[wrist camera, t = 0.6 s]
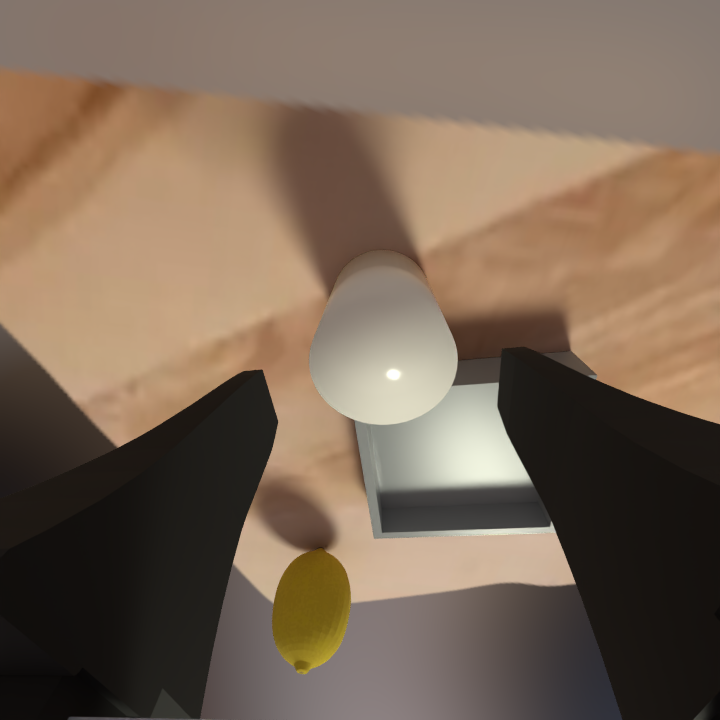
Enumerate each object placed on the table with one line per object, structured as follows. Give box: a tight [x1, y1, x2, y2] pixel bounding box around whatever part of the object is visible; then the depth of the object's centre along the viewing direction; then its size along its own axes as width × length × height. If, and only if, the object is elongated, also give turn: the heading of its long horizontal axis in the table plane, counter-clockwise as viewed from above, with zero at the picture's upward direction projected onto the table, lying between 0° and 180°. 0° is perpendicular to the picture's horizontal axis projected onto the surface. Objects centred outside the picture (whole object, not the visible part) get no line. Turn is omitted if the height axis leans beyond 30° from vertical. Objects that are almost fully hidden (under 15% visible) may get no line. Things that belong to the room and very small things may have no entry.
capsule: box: [309, 250, 458, 425], centre depth 15 cm, size 5×5×7 cm
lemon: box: [272, 548, 351, 674], centre depth 25 cm, size 6×6×8 cm
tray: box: [354, 351, 597, 539], centre depth 21 cm, size 12×12×2 cm
